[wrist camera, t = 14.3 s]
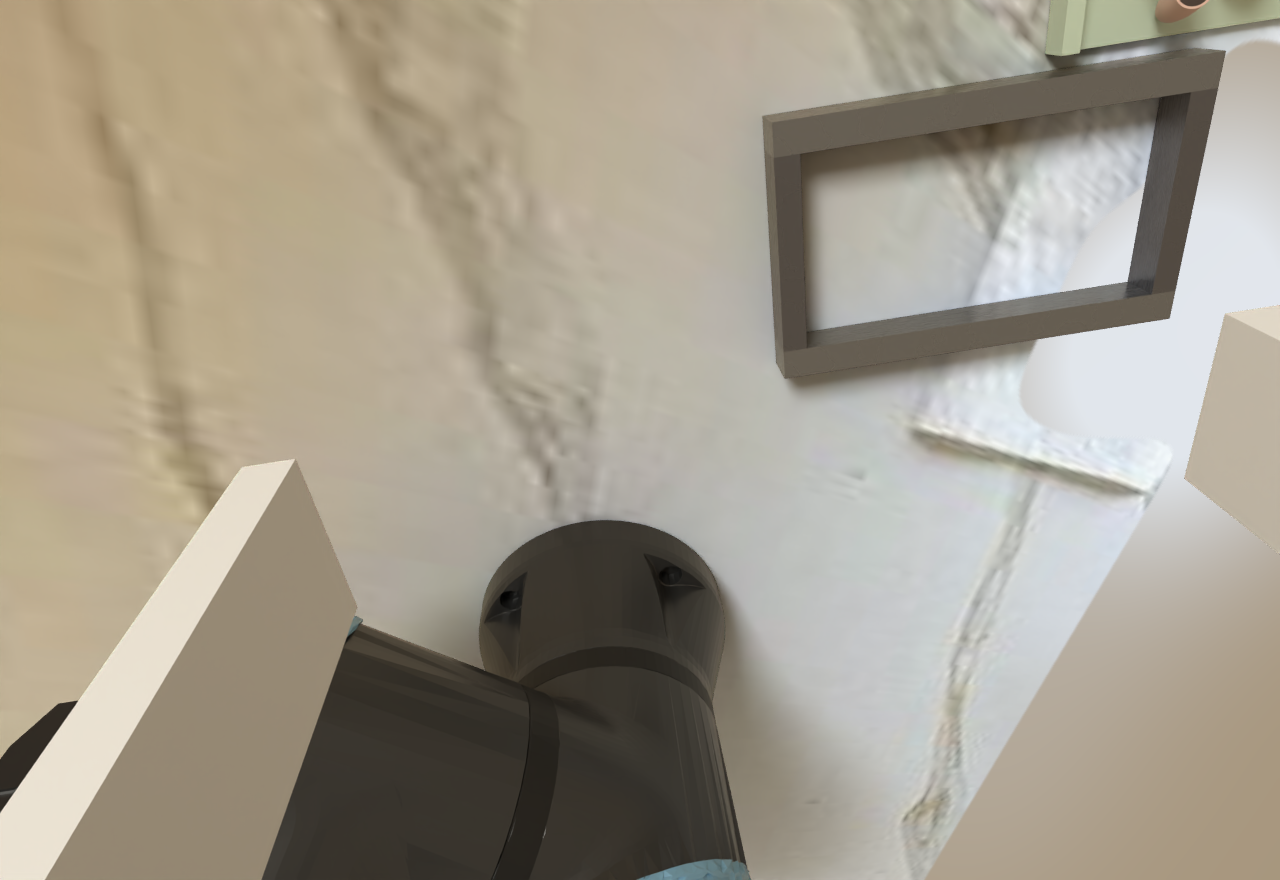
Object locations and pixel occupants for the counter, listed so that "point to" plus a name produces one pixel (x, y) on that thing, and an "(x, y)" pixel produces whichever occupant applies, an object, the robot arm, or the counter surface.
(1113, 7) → the tray pad
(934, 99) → the gray rectangular frame
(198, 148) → the counter surface
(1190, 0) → the ammunition
